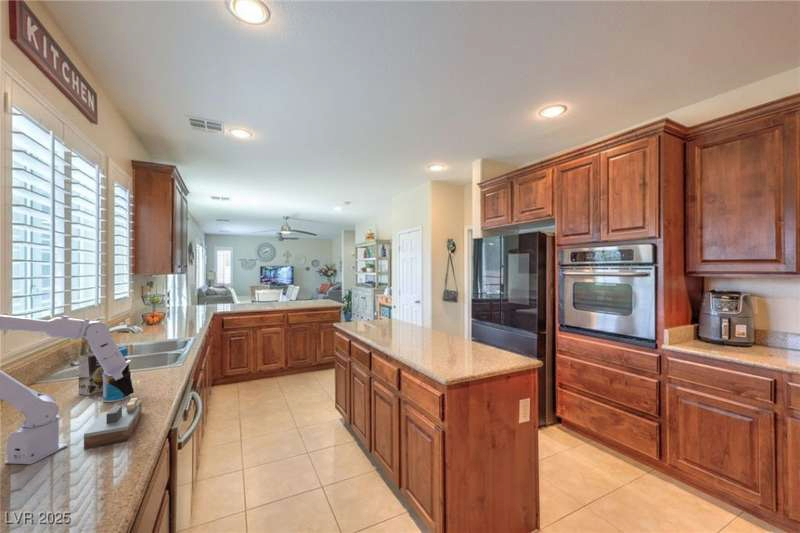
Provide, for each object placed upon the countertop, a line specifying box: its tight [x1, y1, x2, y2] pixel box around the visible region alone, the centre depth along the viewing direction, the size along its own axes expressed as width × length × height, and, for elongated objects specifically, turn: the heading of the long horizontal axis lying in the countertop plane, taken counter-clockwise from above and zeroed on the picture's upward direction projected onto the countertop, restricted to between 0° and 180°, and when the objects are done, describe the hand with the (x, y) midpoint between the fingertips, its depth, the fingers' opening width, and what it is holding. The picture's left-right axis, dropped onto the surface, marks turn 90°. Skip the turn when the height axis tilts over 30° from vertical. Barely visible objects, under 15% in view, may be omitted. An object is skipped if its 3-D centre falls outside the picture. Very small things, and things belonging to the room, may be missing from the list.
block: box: [126, 397, 139, 412], centre depth 113 cm, size 6×2×2 cm, turn 27°
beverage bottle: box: [102, 346, 131, 403], centre depth 133 cm, size 8×8×20 cm
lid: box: [83, 405, 140, 438], centre depth 106 cm, size 16×10×5 cm, turn 27°
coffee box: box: [77, 352, 104, 396], centre depth 141 cm, size 9×6×16 cm
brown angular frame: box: [83, 399, 143, 450], centre depth 109 cm, size 22×10×4 cm, turn 27°
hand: (129, 390), depth 110 cm, fingers open, 7 cm apart
